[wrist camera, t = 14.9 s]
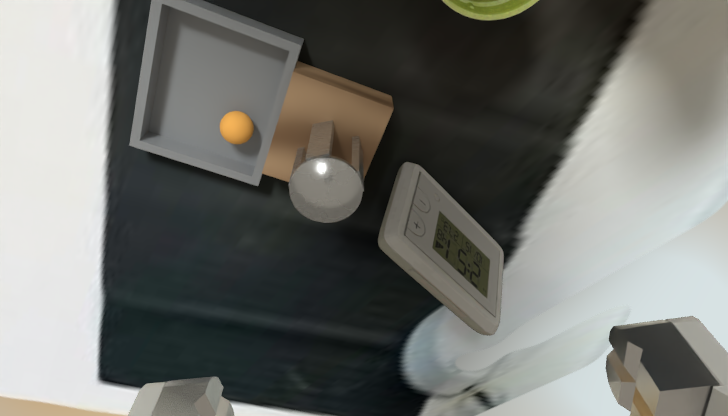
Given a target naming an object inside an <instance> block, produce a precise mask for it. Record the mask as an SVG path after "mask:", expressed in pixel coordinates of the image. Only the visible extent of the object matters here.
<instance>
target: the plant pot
mask: <svg viewBox="0 0 728 416" xmlns="http://www.w3.org/2000/svg"><path fill="white" fill-rule="evenodd" d="M442 1H443V2H444V3H445V4H446V5H447V6H449V7H450V8H451V9H453V10H454V11H456V12H458V13H459V14H461V15H464V16H466V17H469V18H473V19H478V20H499V19H505V18H508V17H511V16H514V15H517V14H519V13H521V12H523V11H524V10H526V9H528V8H529V7H531V6H532V5H534V4H535V3H536V2H537V1H539V0H442Z"/></svg>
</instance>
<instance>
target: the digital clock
mask: <svg viewBox="0 0 728 416" xmlns="http://www.w3.org/2000/svg"><path fill="white" fill-rule="evenodd" d="M378 245H379V247H380V248H381V250H382V251H383V252H384V253H385V254H387V255H388V256H389V257H390V258H391V259H392V260H393V261H394V262H396V263H397V264H398V265H399V266H400V267H401V268H402V269H403V270H405V271H406V272H407V273H408V274H409V275H410V276H411V277H413V278H414V279H415V280H416V281H417V282H418V283H420V284H421V285H422V286H423V287H424V288H425V289H426V290H428V291H429V292H430V293H431V294H432V295H433V296H435V297H436V298H437V299H438V300H439V301H440V302H441V303H443V304H444V305H445V306H446V307H447V308H448V309H450V310H451V311H452V312H453V313H454V314H455V315H456V316H458V317H459V318H460V319H461V320H462V321H463V322H465V323H466V324H467V325H468V326H469V327H471V328H472V329H473V330H475V331H476V332H478V333H480V334H483V335H494V334H495V332H496V330H497V328H498V326H499V323H500V313H501V296H502V279H503V262H504V254H503V250H502V248H501V247H500V246H499V245H498V243H497V242H496V241H495V240H494V239H493V238H492V237H491V236H490V235H489V234H488V233H487V232H486V231H485V230H484V229H483V228H482V227H481V226H480V225H479V224H478V223H477V222H476V221H475V220H474V219H473V218H472V217H471V216H470V215H469V214H468V213H467V212H466V211H465V210H464V209H463V208H462V207H461V206H460V205H459V204H458V203H457V202H456V201H455V200H454V199H453V198H452V197H451V196H450V195H449V194H448V193H447V192H446V191H445V190H444V189H443V188H442V187H441V186H440V185H439V184H438V183H437V182H436V181H435V180H434V179H433V178H432V177H431V176H430V175H429V174H428V173H427V172H426V171H425V170H424V169H423V168H422V167H421V166H419V165H417V164H414V163H410V162H405V163H404V164H403V165H402V166H401V167H400V168H399V170H398V173H397V176H396V179H395V182H394V185H393V189H392V192H391V195H390V199H389V202H388V205H387V209H386V212H385V215H384V218H383V222H382V225H381V228H380V232H379V237H378Z"/></svg>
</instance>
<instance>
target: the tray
mask: <svg viewBox="0 0 728 416" xmlns="http://www.w3.org/2000/svg"><path fill="white" fill-rule="evenodd" d="M303 42H304V39H303V38H300V37H298V36H295V35H293V34H290V33H287V32H285V31H282V30H279V29H277V28H274V27H272V26H269V25H266V24H264V23H261V22H259V21H256V20H253V19H251V18H248V17H245V16H243V15H240V14H238V13H235V12H232V11H230V10H227V9H225V8H222V7H219V6H217V5H214V4H212V3H209V2H206V1H204V0H151V7H150V13H149V20H148V27H147V33H146V40H145V46H144V53H143V60H142V66H141V73H140V79H139V86H138V93H137V99H136V106H135V112H134V119H133V126H132V132H131V139H130V145H129V146H133V147H136V148H139V149H142V150H145V151H148V152H151V153H155V154H158V155H161V156H164V157H167V158H170V159H174V160H177V161H180V162H183V163H186V164H189V165H192V166H196V167H199V168H202V169H205V170H208V171H211V172H215V173H218V174H221V175H224V176H227V177H230V178H234V179H237V180H240V181H243V182H246V183H249V184H252V185H256V186H258V185H259V183H260V180H261V177H262V171H263V168H264V165H265V161H266V158H267V155H268V152H269V148H270V145H271V142H272V139H273V135H274V132H275V129H276V126H277V122H278V119H279V116H280V113H281V109H282V106H283V103H284V100H285V96H286V93H287V90H288V87H289V83H290V80H291V77H292V74H293V71H294V68H295V66H296V63H297V61H298V58H299V55H300V51H301V48H302V45H303ZM232 111H240V112H243V113H245V114H247V115H248V116H249V117H250V119H251V120H252V122H253V126H254V131H253V134H252V136H251V138H250V139H249V140H248V141H247V142H245V143H243V144H232V143H230V142H228V141H226V140H225V139H224V138H223V136H222V135H221V132H220V122H221V119H222V118H223V117H224V115H226V114H227V113H229V112H232Z"/></svg>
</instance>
